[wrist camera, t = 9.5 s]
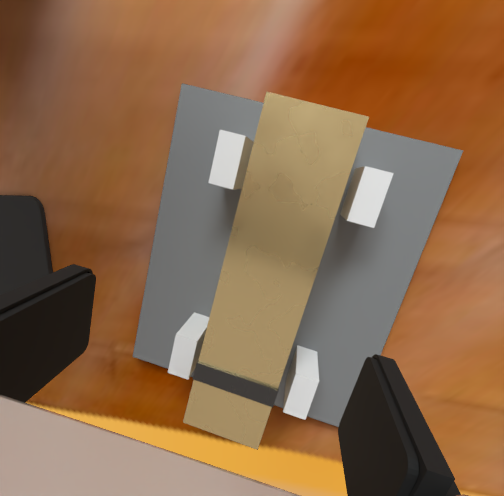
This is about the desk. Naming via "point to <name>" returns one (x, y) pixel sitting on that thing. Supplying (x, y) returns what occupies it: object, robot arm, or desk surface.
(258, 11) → the desk surface
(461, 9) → the desk surface
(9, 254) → the phone
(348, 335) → the peg plate
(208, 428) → the tan long bar
